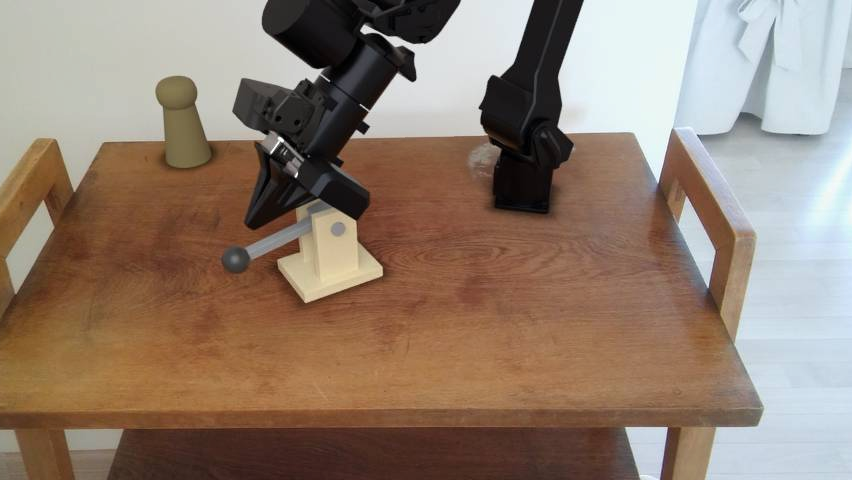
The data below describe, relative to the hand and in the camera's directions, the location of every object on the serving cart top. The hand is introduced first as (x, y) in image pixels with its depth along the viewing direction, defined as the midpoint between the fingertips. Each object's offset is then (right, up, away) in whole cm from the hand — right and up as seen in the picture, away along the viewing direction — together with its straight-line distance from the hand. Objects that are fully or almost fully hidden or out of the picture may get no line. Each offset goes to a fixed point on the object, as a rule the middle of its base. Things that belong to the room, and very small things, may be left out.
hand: (248, 227), depth 74 cm
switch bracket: (+7, -4, +8) cm, 12 cm away
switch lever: (+3, -2, +3) cm, 5 cm away
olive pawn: (-13, +11, +30) cm, 35 cm away
